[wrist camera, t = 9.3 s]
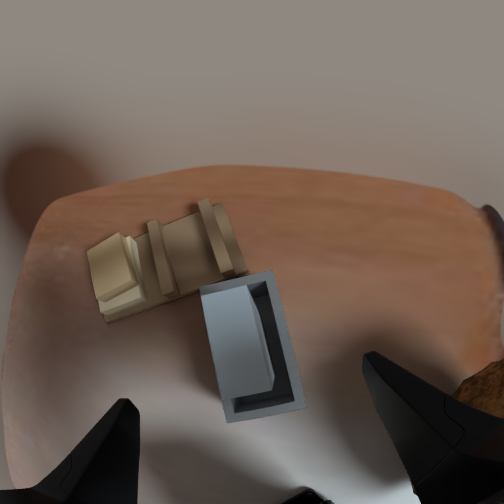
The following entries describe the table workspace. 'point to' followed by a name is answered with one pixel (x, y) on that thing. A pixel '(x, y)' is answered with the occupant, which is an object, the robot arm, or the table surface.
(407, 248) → the table surface
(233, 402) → the holder
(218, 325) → the panel
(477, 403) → the rock
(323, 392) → the table surface
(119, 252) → the rack
